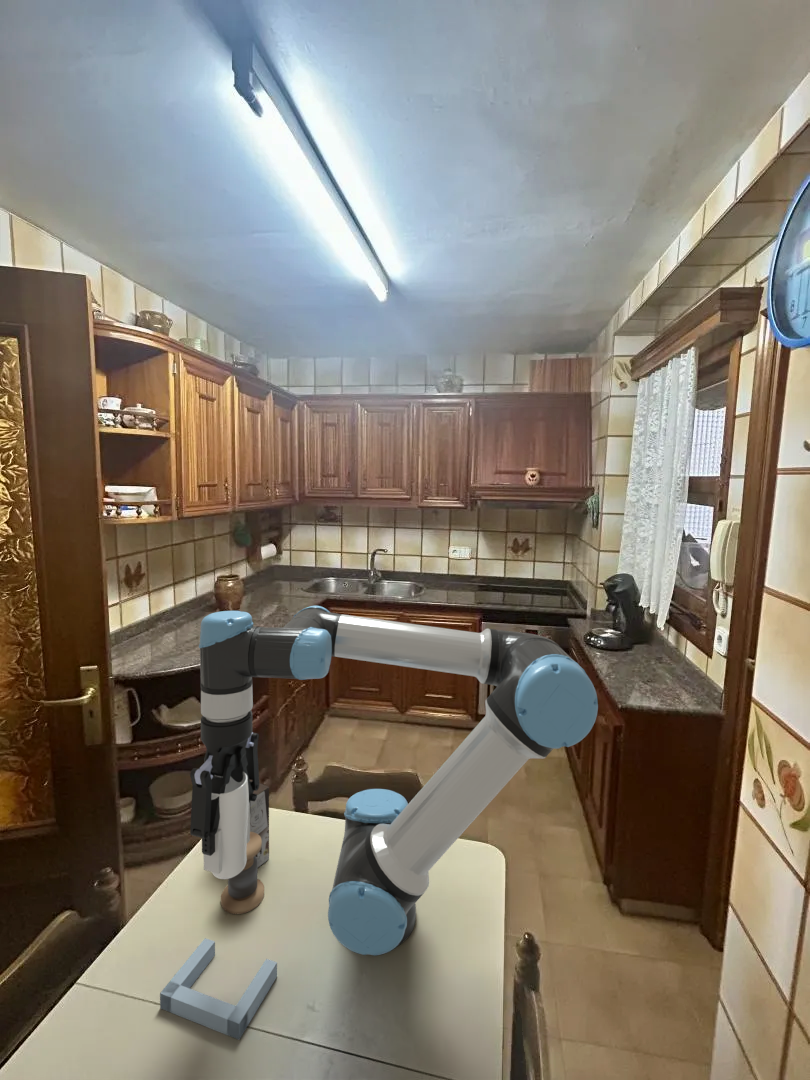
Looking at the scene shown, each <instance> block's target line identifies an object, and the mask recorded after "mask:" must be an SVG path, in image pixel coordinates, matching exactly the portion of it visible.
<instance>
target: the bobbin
mask: <svg viewBox="0 0 810 1080" xmlns="http://www.w3.org/2000/svg"><path fill="white" fill-rule="evenodd" d="M261 847H262V840H261V837H260V836H259V835H258V834H257V833H254V832H250V841H249V842H248V843H247V848H246V854H247V862H246V865H245V867H244V869H243V870H242V871H241V872H240V873H239V874H238V875H236V876H235V877H232V878H229V879H227V885H226V886H225V887H224V888H223V891H222V892H221V895H220V906H221V907H222V909H223V910H224V912H226V913H227V914H232V915H242V914H246V913H249V912H252V911H253V910H254V909H256V908H257V907H258V906H259V905H260V904H261V903H262V902H263V900H264V898H265V884H264V883H263V881H262V880H261V879H259V878H258V868H257V858H256V856H255V855H257V854H258V853H259V851H260V850H261Z"/></svg>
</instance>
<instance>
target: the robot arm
mask: <svg viewBox="0 0 810 1080" xmlns="http://www.w3.org/2000/svg"><path fill="white" fill-rule="evenodd" d="M199 632H200V634H199V644H198V648H199V662H200V663H199V669H200V671H199V672H200V683H199V684H200V715H202V716H201V717H200V740H201V742H202V744H203V745H204V747H205V749H206V751H205V755H204V760H203V761H204V763H203V764H202V765H201V766H200V767H199V768H196V767H195V768H192V769H191V771H190V773H189V775H190V779H191V784H192V789H191V805H190V806H191V808H190V809H191V811H190V812H191V813H190V831H189V834H190V836H193V837H197V838H200V839H201V853H202V854H203V870H204V871H207V872H211V873H212V872H213V873H217V874H219V873H220V872H221V871H222V829H218V825H219V820H220V808H219V797H217V798H216V799H214V800H211V795H212V793H215V794H219V795H220V794H222V793H224V792H225V787H226V784H228V783H229V781H230V776H231V777H232V778H233V779H234V780H235V781H236V782H241V781H242V780H243V772H245V773H246V774H247V777H248V788H249V810H248V828H247V843H248V842H249V841H250V813H251V810H250V809H251V805H250V801H255V800H256V798H257V794H253V792H254V790H255V791H257V790H258V788H259V783H260V775H259V772H260V771H259V770H260V769H259V757H258V755H259V754H258V745H259V737H260V735H259V733H256V732H253V711H252V709H253V706H254V702H253V698H254V697H253V695H254V693H253V678H269V679H270V678H271V679H272V678H273V679H291V680H293V679H294V680H301V681H302V680H303V681H304V680H305V681H306V680H313V679H314V680H315V679H317V680H318V679H323V678H325V677H326V676H327V675H328V673H329V672H330V665H331V663H332V662H331V661H332V657H333V658H335V657H337V658H343V659H350V660H351V659H352V660H357V661H362V662H363V661H364V662H365V661H366V662H371V663H377V664H378V663H379V664H384V665H385V664H386V665H393V666H399V667H405V668H413V669H420V670H428V671H434V672H442V673H446V674H447V673H449V674H456V675H463V676H468V677H469V676H470V677H475V678H476V679H477V680H478V682H480V684H482V685H483V684H484V685H491V686H495V688H494V690H493V691H492V692H491V693H490V695H489V696H488V697H487V698H486V699H485V700H484V701H485V716H484V717H483V718H482V719H481V720H480V722H479V723H477V725H476V726H475V727H474V728H473V729H472V730H471V732H470V733H469V734H468V735H467V736H466V738H464V740H463V741H462V742H461V743H460V744H459V746H458V747H456V749H455V750H454V751H453V752H452V754H450V756H449V757H448V758H447V759H446V761H444V763H443V764H441V766H440V767H439V769H438V770H437V771H436V772H435V773H434V774H433V775H432V776H431V777H430V778H429V780H428V781H427V782H426V783H425V784H424V785H423V787H422V788H421V789H420V790H419V791H418V792H417V794H415V796H413V798H412V799H411V800H410V801H409V803H408V800H407V799H406V798H405V797H404V796H403V795H402V794H400V793H399V792H396V791H394V790H391V789H385V788H367V789H364V790H361V791H359V792H356V793H354V794H353V795H352V796H350V797H349V798H348V799H347V801H346V803H345V811H344V813H343V815H344V818H345V819H344V832H343V834H344V835H343V838H342V839H343V840H342V843H341V849H340V853H339V856H338V862H337V866H336V870H335V875H334V879H333V884H332V889H331V891H330V893H329V897H328V911H327V917H328V918H327V919H328V925H329V927H330V928H329V929H330V930H331V932H332V934H333V936H334V937H335V939H336V940H337V941H338V942H339V943H340V944H341V945H343V947H345V948H346V949H348V950H349V951H351V952H353V953H356V954H359V955H363V956H366V955H371V956H379V955H384V954H387V953H389V952H391V951H392V950H394V949H395V948H397V947H399V946H400V945H402V944H403V943H404V942H405V941H406V940H407V939H408V938H409V936H411V934H412V932H413V930H414V929H415V928H414V927H415V925H416V919H417V917H416V915H417V913H416V911H417V909H416V907H417V905H416V903H417V902H418V901H419V899H421V897H422V896H423V895H424V894H425V893H426V891H427V890H428V888H429V885H430V876H429V871H430V870H431V869H432V868H433V867H434V866H435V864H437V862H438V861H439V860H440V859H441V857H443V855H445V853H446V852H447V851H448V850H449V849H450V848H451V846H452V845H453V844H454V843H455V842H456V841H457V840H458V839H459V838H460V837H461V835H462V834H463V833H464V832H465V831H466V830H467V829H468V827H469V826H470V825H471V824H472V823H473V822H474V821H475V820H476V819H477V817H478V816H479V815H480V814H481V813H482V812H483V811H484V810H485V809H486V808H487V806H488V805H489V804H490V803H492V801H493V799H495V797H497V796H498V794H499V793H500V792H501V791H502V790H503V788H504V787H506V785H507V784H508V783H509V782H510V781H511V780H512V778H513V777H514V776H515V775H516V774H517V772H518V771H520V769H521V768H522V767H523V766H524V765H525V764H526V763H527V762H528V761H529V759H543V760H544V759H546V758H547V756H549V754H550V753H551V752H552V751H553V750H554V749H557V750H558V749H561V748H562V747H563V748H564V747H567V748H569V747H572V746H574V745H577V744H578V743H580V742H581V741H583V739H584V738H586V737H587V736H588V734H589V733H590V732H591V730H592V729H593V727H594V724H595V723H596V720H597V716H598V710H599V704H598V703H599V702H598V695H597V691H596V688H595V687H594V684H593V681H592V680H591V679H590V676H589V675H588V674H587V673H586V671H585V669H584V668H582V666H580V664H579V663H578V662H576V661H575V660H574V659H573V658H572V657H571V656H570V655H569V654H568V653H567V652H565V650H564V649H563V648H562V647H561V646H560V645H559V644H558V643H557V642H555V641H554V640H552V639H550V638H549V637H545V636H544V635H543V636H542V635H539V634H534V633H528V632H519V631H512V630H503V629H495V628H485V629H483V630H482V631H481V632H475V631H467V630H459V629H451V628H445V627H439V626H430V625H422V624H415V623H409V622H402V621H401V622H400V621H394V620H387V619H386V620H384V619H378V618H372V617H365V616H356V615H351V614H350V615H349V614H344V613H343V614H341V613H336V612H330V611H329V610H328V609H327V608H325V607H323V606H321V605H310V606H308V607H304V608H302V609H301V610H299V611H297V613H296V614H294V615H293V617H292V618H291V619H290V620H289V621H288V622H287V623H286V624H285V625H284V626H283V627H266V626H265V627H264V626H254V622H253V616H252V615H251V614H250V612H247V611H242V610H223V611H216V612H212V613H209V614H208V615H206V616H204V617H203V618H202V620H201V622H200V631H199ZM215 775H217V776H215ZM218 776H223V778H222V777H218ZM250 780H252V781H250Z"/></svg>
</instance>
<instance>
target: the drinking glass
mask: <svg viewBox="0 0 810 1080" xmlns="http://www.w3.org/2000/svg"><path fill="white" fill-rule="evenodd" d="M215 776H217V775H215ZM218 777H222V778H223V776H218ZM217 797H219V808H220V820H219V825H218V829H222V871H221V872H220V873H219V874H217V873H213V872H211V873H212V875H213V876H214V877H215V878H216V879H219V880H228V879H229V878H232V877H235V876H236V875H238V874H239V873H240V872H241V871H242V870H243V869H244V867H245V865H246V862H247V854H246V848H247V828H248V810H249V788H248V777H247V774H246V773H245V772H243V780H242V781H241V782H236V781H235V780H234V779H233V778H232V777H231V776H230V781H229V783H228V784H226V787H225V792H224V793H222V794H220V795H219V794H215V793H212V795H211V800H214V799H216V798H217Z"/></svg>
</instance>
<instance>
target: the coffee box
mask: <svg viewBox="0 0 810 1080" xmlns="http://www.w3.org/2000/svg"><path fill="white" fill-rule="evenodd" d="M250 781H252V780H250ZM253 794H257V798H256V800H255V801H250V805H251V809H250V810H251V813H250V832H254V833H257V834H258V835H259V836H260V837H261V840H262V847H261V850H260V851H259V853H258V854H257V855H255V856H256V858H257V869H258V868H260V867H261V865H264V864H265V863H266V862H267V861H269V860H270V787H269V786H267V785H266V784H263V783H260V782H259V788H258V790H257V791H255V790H254V792H253Z"/></svg>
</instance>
